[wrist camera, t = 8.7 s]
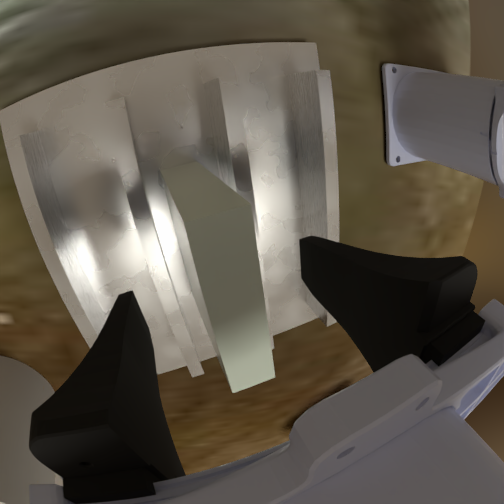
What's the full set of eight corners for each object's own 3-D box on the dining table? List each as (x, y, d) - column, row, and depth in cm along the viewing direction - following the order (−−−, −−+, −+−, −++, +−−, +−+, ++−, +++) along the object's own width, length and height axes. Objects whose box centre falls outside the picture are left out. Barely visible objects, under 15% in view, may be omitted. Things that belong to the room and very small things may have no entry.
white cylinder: (2, 416, 18) (-5, 523, 8) (-40, 356, 15) (-72, 477, 5) (69, 416, 21) (78, 535, 11) (33, 353, 17) (17, 501, 7)
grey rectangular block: (197, 161, 16) (251, 204, 9) (222, 285, 19) (275, 377, 13) (160, 170, 15) (183, 222, 8) (193, 295, 19) (232, 393, 12)
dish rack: (307, 45, 15) (347, 35, 12) (323, 306, 25) (350, 334, 22) (5, 111, 11) (-27, 113, 7) (114, 376, 21) (118, 416, 17)
